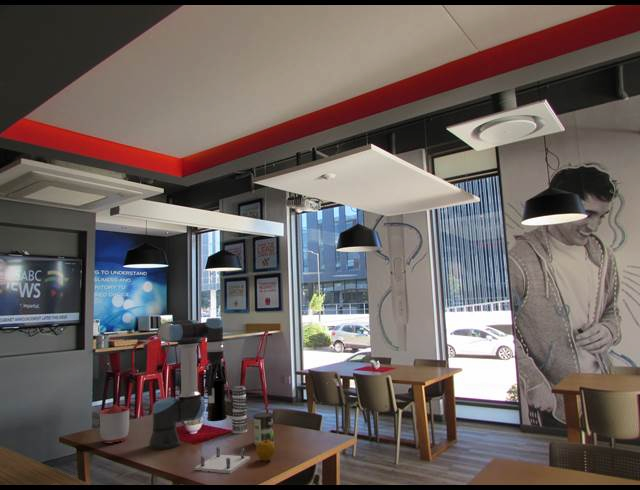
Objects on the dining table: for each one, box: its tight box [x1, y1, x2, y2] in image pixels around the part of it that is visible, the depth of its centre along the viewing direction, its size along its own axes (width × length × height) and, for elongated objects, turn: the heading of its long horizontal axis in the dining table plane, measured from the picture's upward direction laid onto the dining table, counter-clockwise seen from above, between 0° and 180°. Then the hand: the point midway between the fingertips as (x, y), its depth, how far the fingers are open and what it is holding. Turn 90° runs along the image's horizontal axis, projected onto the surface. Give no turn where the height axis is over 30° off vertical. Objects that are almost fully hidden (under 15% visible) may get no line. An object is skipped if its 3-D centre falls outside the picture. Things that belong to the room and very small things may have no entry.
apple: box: [255, 440, 276, 462], centre depth 215 cm, size 9×9×9 cm
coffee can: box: [252, 412, 275, 446], centre depth 243 cm, size 10×10×14 cm
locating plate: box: [194, 446, 251, 474], centre depth 212 cm, size 18×18×5 cm
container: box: [206, 377, 228, 422], centre depth 216 cm, size 9×9×18 cm
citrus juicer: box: [98, 403, 130, 443], centre depth 261 cm, size 16×17×20 cm
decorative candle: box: [230, 385, 249, 434], centre depth 268 cm, size 9×9×25 cm
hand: (216, 400), depth 216 cm, fingers closed on container, 8 cm apart
